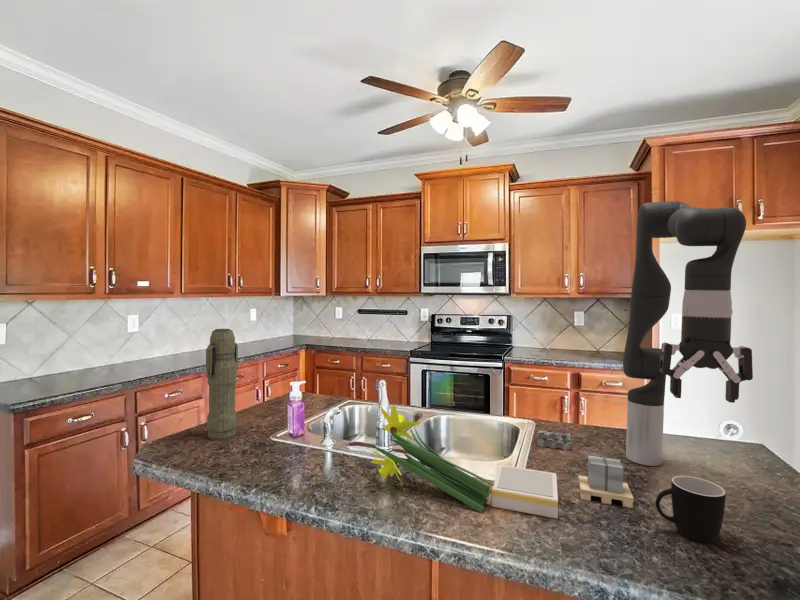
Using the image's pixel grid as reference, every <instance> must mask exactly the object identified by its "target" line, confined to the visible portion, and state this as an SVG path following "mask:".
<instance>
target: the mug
mask: <svg viewBox="0 0 800 600" xmlns="http://www.w3.org/2000/svg"><path fill="white" fill-rule="evenodd" d="M670 484H671V486H670V487H671V488H669V489H668V488H667V489H665V490H662V491H661V492H660V493H658V494H657V495H656V498H655V508H656V510H657V512H658V514H659V515H660V516H661V517H662V518H664V519H665V520H667V521H669V522H670V523H674V526H675V527H676V529H677V531H678V532H679V534H680V535H682V536H684V537H685V538H687V539H689V540H691V541H695V542H698V543H702V544H712V543H714V542H716V541H717V539H718V537H719V535H720V533H721V529H722V526H723V522H724V521H723V520H724V516H725V510H726V509H725V508H726V497H727V495H726V491H725V489H724V488H723V487H722V486H721V485H718V484H717V483H714V482H712V481H710V480H707V479H703V478H700V477H696V476H691V475H690V476H688V475H676V476H673V477H672V479H671V483H670ZM667 495H671V507H672V516H670V515H667V514H665V512H663V510H662V509H661V506H660V504H661V501H662V499H663V498H664V497H665V496H667Z"/></svg>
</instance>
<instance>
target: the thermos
mask: <svg viewBox="0 0 800 600" xmlns="http://www.w3.org/2000/svg"><path fill="white" fill-rule="evenodd" d="M238 358H239V346H238V343H236V337H235V334H234V331H233V329H231V328H216V329H214V330H212V331H211V334H210V337H209V345H207V348H206V350H205V374H206V377H205V378H206V379H207V385H208V414H207V415H206V416H207V417H206V430H207V439H209V440H212V441H220V440H221V441H222V440H228V439H231V438H234V437H235V436H236V435H237V429H236V428H237V421H238V420H237V419H238V418H237V417H238V416H237V415H238V414H237V412H236V384H237V381H238V380H237V379H238V377H237V375H238V374H237V372H238V367H239V359H238Z"/></svg>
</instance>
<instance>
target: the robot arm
mask: <svg viewBox="0 0 800 600" xmlns="http://www.w3.org/2000/svg"><path fill="white" fill-rule="evenodd" d="M746 228H747V219H746V216H745V214H744V213H743V212H742V211H741V210H740V209H738V208H736V207H713V208H712V207H711V208H702V207H696V206H695V207H693V206H692V207H691V206H690V205H689V204H688V203H685V202H683V201H678V200H675V201H673V200H672V201H653V202H645V203H643V204H642V205H641V206H640V207H639V209H638V213H637V220H636V241H635V262H634V263H635V264H634V271H633V276H632V277H633V279H632V283H631V285H632V286H631V294H630V303H629V304H630V306H629V307H630V308H629V320H628V322H629V323H628V330H627V335H626V341H625V346H624V352H623V358H622V359H623V360H622V370H623V374H624V375H625V376H626V377H628V378H630V379H631V378H632V379H642V380H649V382H648V383H646V384H644V385H642V386H639V387H634V388H631V389H629V390H628V391H627V403H626V404H627V407H626V410H627V411H626V412H627V413H626V436H625V437H626V439H625V458H626V459H627V460H629V461H631V462H633V463H636V464H638V465H639V464H640V465H643V466H647V467H657V466H660V465H662V464H663V448H664V445H663V444H664V419H665V416H664V413H665V395H666V383H667V376H668V377H669V378H670V379H669V382H670V383H669V391H670V393H671V394H672V395H673V397H674V398H675V399H681V398H682V382H683V381H682V378H681V377H682V376H683V375H684V374H685V373H686V372H687V371H689V370H690V369H691V368H693V367H694V368H696V369H703V368H707V369H711V370H717V369H718V370H720V372H722V374H723V376H725V377H726V378H727V380H726V381H725V398H724V399H725V401H726V402H728V403H732V404H734V403H735V402H736V400H737V401H738V399H739V397H740V384H741V382H745V381H752V380H753V378H754V377H753V376H754V375H753V370H754V369H753V351H752V348H750V347H746V346H743V345H742V346H741V345H740V346H738V347H732V344H731V336H732V333H731V332H732V315H733V303H732V302H733V300H732V294H731V293H732V292H731V291H732V287H731V286H732V272H733V271H732V270H733V266H734V265H733V264H734V262H735V258H736V255H737V252H738V249H739V247H740V245H741V242H742V239H743V237H744V235H745V233H746V232H745V231H746ZM661 238H662V239H663V238H664V239H670V238H676V240H677V242H678V243H679V244H680V245H681V246H683V247H684V246H685V247H716V249H715V252H713V254H712V255H711V256H708V257H702V258H697V259H692V260H689V261H688V262H687V263H686V265H685V268H684V291H683V292H684V293H683V298H682V304H681V305H682V309H681V332H680V333H681V337H680V342H679V344H676V343H675V344H674V343H673V344H672V343H668V342H662V343H661V348H659V347H644V346H643V347H641V344H642V342H643V340H644V338H645V337H646V335H647V334H648V333H649V331H650V330H651V329H652V328H653V327H655V325H657V324H658V322H659V321H661V319H662V318H663V317H664V316H665V315H666V313H667V311H668V310H669V306H670V300H671V292H672V284H671V282H670V279H669V278H668V276H667V275H666V273H665V271H664V270H663V268H662V266H661V265H660V264H659V262H658V260H657V259H656V256H655V254H654V252H653V249H652V248H653V247H652V239H661ZM677 351H678V352H679V353H680V354H681V356H682V357H681V358H680V359H679V361H677V362H676V365H675V366H673V367H672V369H671V365H672V356H674V355H676V353H677ZM733 354H734V357H735V358H736V359H737V360H738V361H737V364H738V365H737V366H738V372H737V373H736V371H735V370H734V367H732V366H731V364H730V363H729V362H728V359H729V358H730V357H731V356H732V355H733Z"/></svg>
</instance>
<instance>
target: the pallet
mask: <svg viewBox="0 0 800 600" xmlns="http://www.w3.org/2000/svg"><path fill="white" fill-rule="evenodd" d="M587 456H588V457H587V459H588V460H587V476H585V475H578V476H577V479H578V489H579V495H580V500H582V501H589V502H591V500H592V496H593V497H599V498H600V502H601V504H605V505H612V500H616V501H617V500H618V501H620V502H621V505H622V507H623V508H629V509H633V508H634V506H633V505H634V496H633V494H632V492H631V489H630V487H629V484H628V483H627V482H624V466H623V464H622V463H621V459H615V458H611V457H610V458H608V457H601V456H596V455H595V456H593V455H587Z"/></svg>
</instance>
